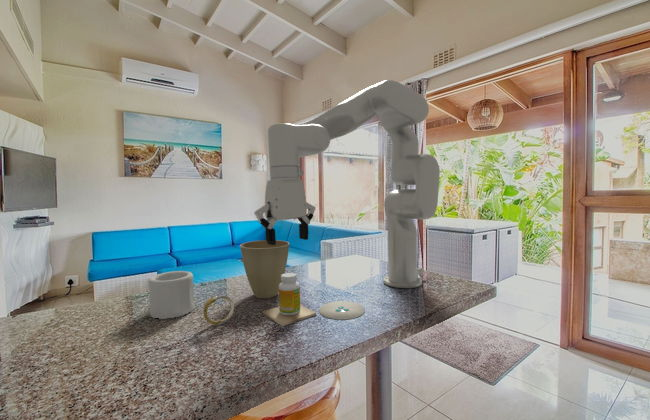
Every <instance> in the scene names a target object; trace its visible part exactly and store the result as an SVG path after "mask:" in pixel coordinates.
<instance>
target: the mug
mask: <svg viewBox="0 0 650 420" xmlns="http://www.w3.org/2000/svg"><path fill="white" fill-rule="evenodd" d="M147 283H148V284H147V285H148V289H149V292H148V293H149V316H150V317H151V318H153V319H155V318H159V319H158V320H168V319H167V318H171V319H175V317H176V318H180V317H183V316H186V315H187V314H189V312H190V313H191V312H192V311H193V310H194V309H195V293H194V292H195V291H194V274H193V273H192V272H191V271H185V270H173V271H168V272H167V271H166V272H162V273H157V274H155V275H152V276H150V277H149V279H148V280H147ZM185 314H186V315H185Z"/></svg>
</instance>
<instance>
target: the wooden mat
mask: <svg viewBox="0 0 650 420" xmlns="http://www.w3.org/2000/svg"><path fill="white" fill-rule="evenodd" d="M262 314H263V315H264V316H266V317H267V318H269V319H271V321H274V322H275V323H276V324H278V325H280V326H281V327H285V326H287V325H290V324H294V323H296V322H299V321H302V320H305V319H308V318H311V317H314V316H317V312H316V311H314V310H313V309H310V308H308V307H306V306H304V305H302V304H300V312H299V313H297V314H295V315H283V314H281V313H280V307H279V306H277V307H273V308H270V309H266V310H264V311H262Z"/></svg>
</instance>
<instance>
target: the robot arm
mask: <svg viewBox="0 0 650 420" xmlns="http://www.w3.org/2000/svg"><path fill="white" fill-rule="evenodd" d="M429 109H430V107H429V103H428V101H427V99H426V98H425V97H424V96H423V95H422V94H421V93H419V92H417V91H415V90H414V89H412V88H410V87H408V86H407V85H404V84H403V83H401V82H398V81H397V80H396V81H395V80H392V79H385V80H382V81H381V82H378V83H376V84H374V85H371V86H369V87H366V88H365V89H362V90H361V91H359V92H357V93H356V94H354V95H352V96H351V97H349V98H348V99H345V100H344V101H342V102H340V103H337V105H335V106H333V107H331V108H330V109H328V110H327V111H325V112H324V113H322V114H320V115H319V116H316V117H315V118H313V119H312V120H309V121H308V122H306V123H304V124H292V123H287V122H283V123H282V122H280V123H274V124H271V125H270V126H269V127H268V128H267V129H268V130H267V140H268V143H267V144H268V156H269V157H268V159H269V161H268V162H269V180H266V186H265V194H264V205H263V206H261V207H259V208H258V209H256V210H255V211H254V215H255V217H256V219H257V222H258V223H259V224H260V225H261V226H262V227H263V228H264V229H265V240H266V241H267V243H268V244H270V245H275V244H276V239H277V238H276V229H275V228H274V226H275V225H276V223H277V222H278V221H287V220H293V219H294V220H295V219H297V220H298V221H299V222H300V223H299V225H298V230H299V231H298V234H299V239H300V240H304V241H305V240H306V241H307V240H309V225H310V224H311V221H312V219H313V218H314V214H315V211H316V206H314V205H312V204H310V203H309V202H307V199H306V197H307V196H306V191H305V187H304V182H303V179H301V176H303V175H304V170H303V169H301V167H300V166H301V165H300V158H304V157H309V156H315V155H319V154H321V153H323V152H325V151H326V150H327V149H328V148H329V146H330V144H331V140H335V139H337V138H341V137H343V136H346V135H348V134H350V133H353V132H354V131H356V130H357V129H359V128H360V127H361V126H363V125H365V124H366V123H367V122H369V121H371V120H372V119H374V118H375V117H378V120H379V123H380V125H381V126H382V127H383V129H384V130H385V131H386V133H387V134H388V136H389V137H390V140H391V143H392V150H391V151H392V153H391V166H390V167H391V168H390V177H391V180H392V182H393V183H394V184H395V185H398V186H415V188H402V189H401V188H400V189H394V190H392V191H390V192H389V193H388V194H386V195H385V198H384V202H383V203H384V204H383V207H384V213H385V216H386V217H385V218H386V222H387V224H386V225H387V276H385V277H384V278H383V283H384V284H385V285H387V286H388V287H393V288H397V289H413V288H418V287H421V286H422V284H423V280H422V279H421V278H420V277H419V275H421V274H423V273H424V272H425V269H424V268H423V267H418V232H417V227H416V226H417V225H416V224H415V222H414V220H429V219H431V218H432V217H434V216H435V214H436V212H437V208H438V203H439V201H438V200H439V190H440V189H439V188H440V186H439V185H440V166H439V163H438V161H437V159H436V157H435V156H433V155H432V154H429V153H422V154H419V152H420V151H419V149H420V148H419V146H420V145H419V139H418V136H417V134H416V133H415V131H414V130H413V129H412V127H410V126H414V125H417V124H421V123H422V122H424V121H425V120H426V119H427V117H428V116H429V111H430V110H429ZM264 216H265V217H264Z"/></svg>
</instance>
